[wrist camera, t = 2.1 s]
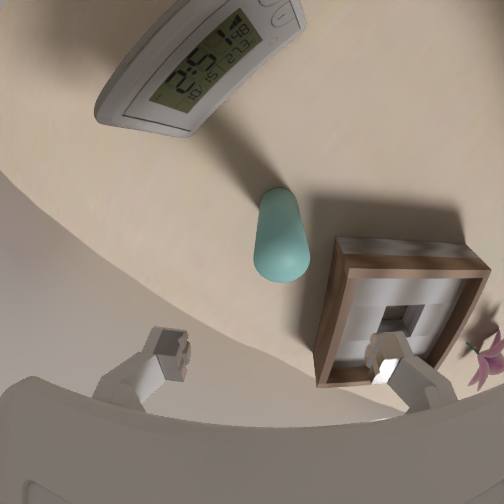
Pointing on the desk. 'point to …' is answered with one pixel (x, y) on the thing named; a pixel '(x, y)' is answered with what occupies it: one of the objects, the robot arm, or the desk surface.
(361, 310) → the bore box
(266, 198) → the peg
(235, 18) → the digital clock
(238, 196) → the desk surface
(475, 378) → the lily
